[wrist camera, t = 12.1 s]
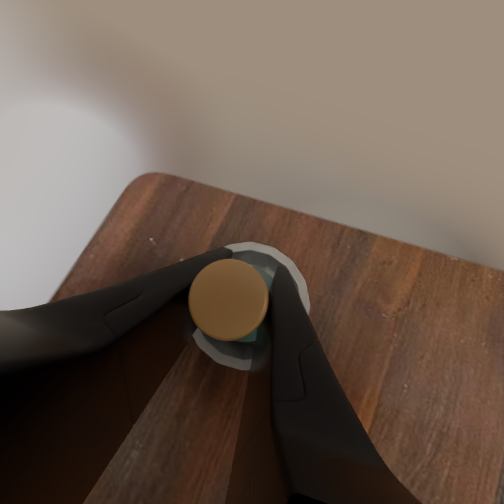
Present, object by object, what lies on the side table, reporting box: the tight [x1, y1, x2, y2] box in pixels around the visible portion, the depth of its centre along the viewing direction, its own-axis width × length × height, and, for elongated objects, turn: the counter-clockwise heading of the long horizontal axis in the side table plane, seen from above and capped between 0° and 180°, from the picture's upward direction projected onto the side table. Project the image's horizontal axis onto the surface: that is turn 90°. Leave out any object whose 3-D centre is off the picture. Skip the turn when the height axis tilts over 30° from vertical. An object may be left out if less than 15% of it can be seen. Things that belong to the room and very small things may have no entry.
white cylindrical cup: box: [193, 242, 310, 370], centre depth 14 cm, size 7×7×5 cm
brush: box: [188, 259, 273, 342], centre depth 10 cm, size 4×4×11 cm
